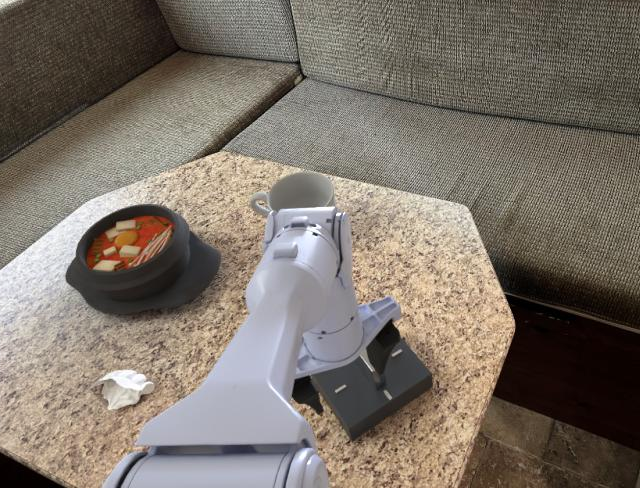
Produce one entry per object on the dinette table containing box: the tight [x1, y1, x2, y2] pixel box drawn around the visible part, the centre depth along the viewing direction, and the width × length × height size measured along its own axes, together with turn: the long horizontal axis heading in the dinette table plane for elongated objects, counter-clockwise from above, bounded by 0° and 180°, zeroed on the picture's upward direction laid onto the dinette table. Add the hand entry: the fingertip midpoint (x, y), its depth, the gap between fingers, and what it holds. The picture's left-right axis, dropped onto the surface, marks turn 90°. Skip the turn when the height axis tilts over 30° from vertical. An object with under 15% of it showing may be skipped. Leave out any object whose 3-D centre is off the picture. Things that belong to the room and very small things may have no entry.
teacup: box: [249, 170, 338, 218], centre depth 98 cm, size 14×11×8 cm
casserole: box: [64, 203, 222, 315], centre depth 93 cm, size 25×19×8 cm
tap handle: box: [354, 348, 386, 389], centre depth 74 cm, size 6×2×4 cm, turn 34°
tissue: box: [83, 369, 156, 411], centre depth 78 cm, size 6×8×4 cm
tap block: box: [310, 335, 434, 442], centre depth 76 cm, size 12×10×3 cm
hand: (347, 386), depth 66 cm, fingers open, 7 cm apart
